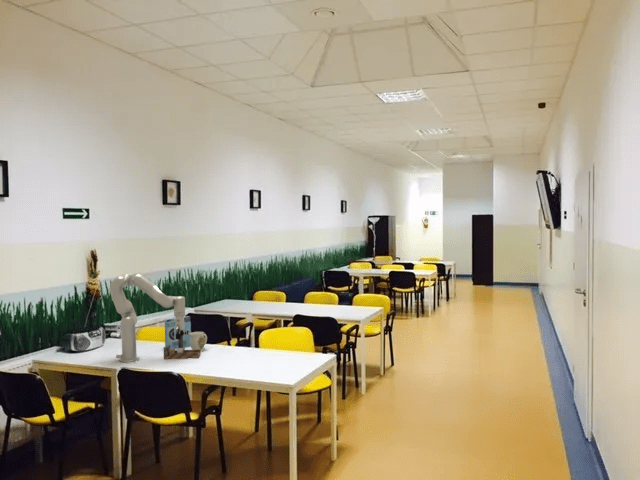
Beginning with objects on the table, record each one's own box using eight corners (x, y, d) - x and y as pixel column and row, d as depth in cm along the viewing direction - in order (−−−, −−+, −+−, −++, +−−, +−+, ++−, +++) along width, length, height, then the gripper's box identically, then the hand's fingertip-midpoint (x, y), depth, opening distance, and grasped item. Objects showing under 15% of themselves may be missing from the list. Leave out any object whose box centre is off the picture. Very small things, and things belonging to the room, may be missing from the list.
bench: (163, 359, 385) (163, 348, 384) (167, 356, 395) (166, 344, 394) (198, 358, 386) (198, 347, 386) (200, 354, 396) (200, 343, 396)
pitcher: (212, 348, 415) (211, 330, 415) (195, 353, 400) (194, 334, 400) (201, 347, 421) (201, 329, 421) (184, 352, 406) (183, 333, 405)
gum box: (167, 350, 413) (166, 320, 412) (164, 349, 417) (164, 319, 416) (191, 346, 425) (190, 316, 424) (189, 345, 429) (188, 316, 428)
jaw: (177, 355, 386) (176, 336, 386) (179, 352, 393) (178, 334, 393) (182, 355, 387) (182, 336, 386) (184, 352, 394) (184, 334, 393)
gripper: (182, 315, 381) (182, 340, 381) (187, 311, 398) (187, 335, 398) (171, 315, 380) (171, 340, 381) (176, 311, 398) (176, 335, 398)
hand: (179, 337), depth 390 cm, fingers open, 9 cm apart
